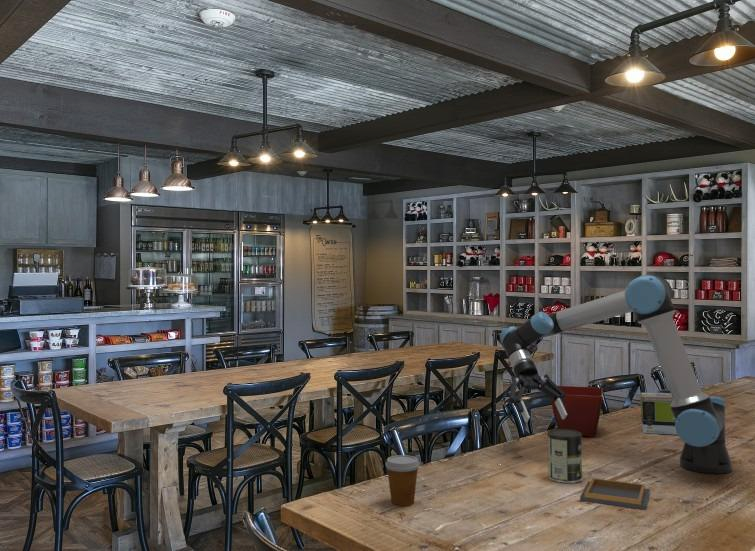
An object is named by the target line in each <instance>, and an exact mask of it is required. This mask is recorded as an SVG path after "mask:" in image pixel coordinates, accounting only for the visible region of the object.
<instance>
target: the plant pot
mask: <svg viewBox="0 0 755 551" xmlns="http://www.w3.org/2000/svg"><path fill="white" fill-rule="evenodd" d="M557 386H558V387H559V388H560V389H561V390H562V391H563V392H564V393H565V394H566V396H565V398H564V399H563V402H564V404H565V410H566V413H567V416H566V417H565V419H562V418H561V415H560V413H559V411H558V409H557V407H556V404H555V402H556V401H555V400H554V399H552V398H551V397H550V402H551V407H552V408H551V409H552V411H553V416H554V419H555V423H556V426H557V429H568V430H574V431H578V432H580V433H582V437H583V436H588V438H595V436H596V434H597V430H598V426H599V421H600V417H601V411H602V402H603V393H604V392H603V391H604V388H603V387H601V386H600V387H596V386H572V385H571V386H570V385H557Z"/></svg>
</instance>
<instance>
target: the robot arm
mask: <svg viewBox="0 0 755 551" xmlns="http://www.w3.org/2000/svg"><path fill="white" fill-rule="evenodd" d="M672 298H673V288H672V286H671V284H670V283H669V281H667V279H666V278H663V277H662V276H659V275H655V274H654V275H647V274H644V275H640V276H638V277H636V278H634V279H633V280H631V281H630V282H629V283H628V285H627V286H626V287H625V290H622V291H619V292H618V291H617V292H616V293H612V294H610V295H609V294H608V295H606V296H602V297H600V298H597V299H593V300H590V301H587V302H584V303H581V304H578V305H574V306H571V307H568V308H565V309H562V310H559V311H556V312H552V313H549V314H547V313H546V312H544V311H539V312H537V313H536V314H534V315H532V316H531V317H530V318H529V319H527V321H525V322H524V323H523V324H521V325H519V327H517V326H509V327H506V328H504V329H503V330H502V331H500V334H499V338H500V342H501V346H502V348H503V350H504V351H505V353H506V356H507V358H508V361H509V363H510V365H511V368H512V370H513V372H514V375H515V376H514V375H513V376H511V378H510V380H509V384H510V390H509V396H508V397H509V398H508V403H509V404H511V405H512V404H513V407H516V410H517V411H518V413H520V414H521V416H522V418H523V420H524V423H528V422H529V419H531V416H530V414H529V412H528V410H527V406H526V405H525V403H524V400H521V399H522V398H523V395H524V392H525V391H526V390H527V391H531V390H532V391H533V390H534V391H535V390H536V391H537V390H538V391H539V392H542V393H544V394H545V395H547V396H548V397H549V398H550V399H551V398H552V399H554V400H555V401H556V402H555V404H556V407H557V409H558V411H559V413H560V415H561V418H562V419H565V417H566V416H567V413H566V410H565V404H564V402H563V399H564V398H565V396H566V394H565V393H564V392H563V391H562V390H561V389H560V388H559V387H558V386H559V385H557V384H556V383H555V382H554V381H552V379H551V378H550V377H549V375H548V374H544V375H543V376H540V374H539V372H538V368H537V366H536V364H535V363H534V359H533V357H532V355H531V354H530V352H529V349H528V348H529V347H530V346H532V345H533V344H535V343H536V342H538V341H539V340H540V339H542V338H545V337H551V336H555V335H557V334H560V333H563V332H567V331H569V330H570V331H571V330H574V329H577V328H581V327H583V326H587V325H591V324H594V323H598V322H602V321H604V320H608V319H612V318H615V317H618V316H621V315H625V314H628V313H631V312H633V313H634V317H635V318H636V321H637V324H640V325H642V326H644V328H645V330H646V332H647V335H648V338H649V340H650V344H651V345H652V348H653V351H654V354H655V356H656V358H657V361H658V364H659V367H660V369H661V372H662V374H663V377H664V380H665V382H666V385H667V387H668V389H669V390H670V393H671V395H672V398H673V401H672V403H671V405H670V407H671V410H672V412H673V415H674V417H675V420H676V421H675V429H676V432H677V434H678V435H677V437H678V438H679V439H681V440H682V441H683V443H684V444H683V447H682V449H681V453H680V454H679V466H681V467H682V468H683V469H686V470H689V471H693V472H696V473H702V474H703V473H704V474H716V475H717V474H727V473H730V472H732V471H733V470H732V469H733V465H732V464H733V463H732V460H731V456H730V455H729V452H728V448H727V446H726V408H727V407H726V402H725V399H724V398H722V397H719V396H710V395H709V394H708V393H705V392H704V391H702V388H701V386H700V384H699V381H698V379H697V376H696V374H695V371H694V369H693V366H692V363H691V360H690V358H689V356H688V354H687V351H686V348H685V346H684V343H683V341H682V338H681V335H680V333H679V331H678V328H677V325H676V323H675V320H674V314H675V313H676V308H675V306H674V303H673V302H672ZM517 384H519V385H520V386H521V387H520V390H519V392H518V394H517V396H516V389H517Z"/></svg>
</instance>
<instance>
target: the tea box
mask: <svg viewBox="0 0 755 551" xmlns="http://www.w3.org/2000/svg"><path fill="white" fill-rule="evenodd" d="M672 401H673V398H672V395H671V394H669V393H657V392H640V412H641V414H640V417H641V418H640V419H641V420H640V421H641V429H642V433H643V434H652V435H653V434H656V435H658V434H659V435H674V436H678V434H677V432H676V429H675V421H676V420H675V417H674V415H673V412H672V410H671V407H670V405H671V403H672Z"/></svg>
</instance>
